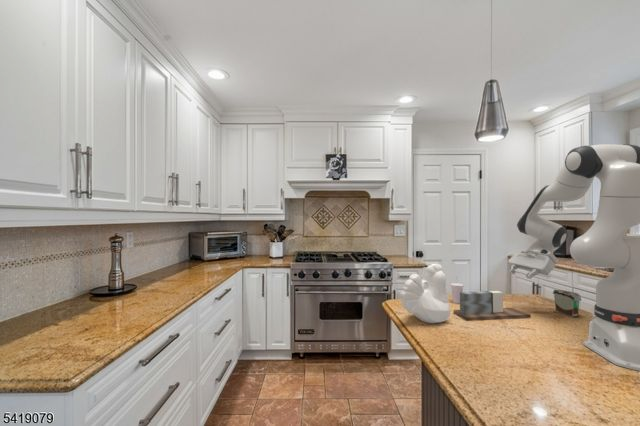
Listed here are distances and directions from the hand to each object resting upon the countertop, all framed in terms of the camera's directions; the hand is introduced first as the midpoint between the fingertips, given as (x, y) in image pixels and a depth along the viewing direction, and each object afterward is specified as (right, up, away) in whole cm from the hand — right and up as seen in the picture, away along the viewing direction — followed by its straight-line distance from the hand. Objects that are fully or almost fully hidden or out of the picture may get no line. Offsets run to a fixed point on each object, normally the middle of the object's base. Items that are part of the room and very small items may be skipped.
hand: (519, 275), depth 132 cm
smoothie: (-21, -19, +17) cm, 33 cm away
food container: (+24, -18, -1) cm, 30 cm away
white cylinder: (-12, -16, -2) cm, 21 cm away
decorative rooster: (-49, -18, -8) cm, 53 cm away
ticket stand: (-15, -18, -2) cm, 24 cm away
